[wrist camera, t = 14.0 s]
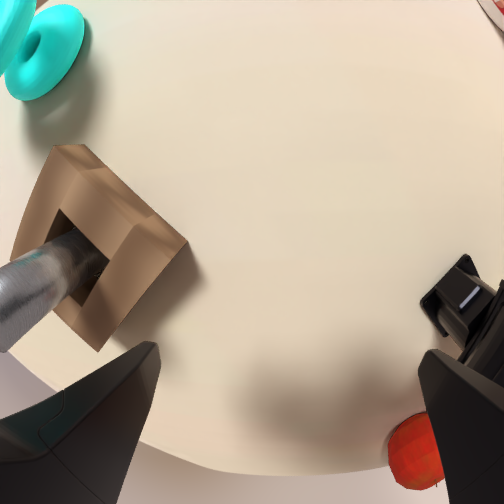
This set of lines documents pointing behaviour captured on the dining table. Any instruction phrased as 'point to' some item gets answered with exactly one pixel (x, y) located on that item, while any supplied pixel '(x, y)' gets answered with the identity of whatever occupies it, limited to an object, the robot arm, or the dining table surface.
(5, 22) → the donuts
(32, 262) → the steel pin
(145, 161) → the dining table surface
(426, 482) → the apple
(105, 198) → the block
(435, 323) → the robot arm
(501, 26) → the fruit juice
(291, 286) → the dining table surface
